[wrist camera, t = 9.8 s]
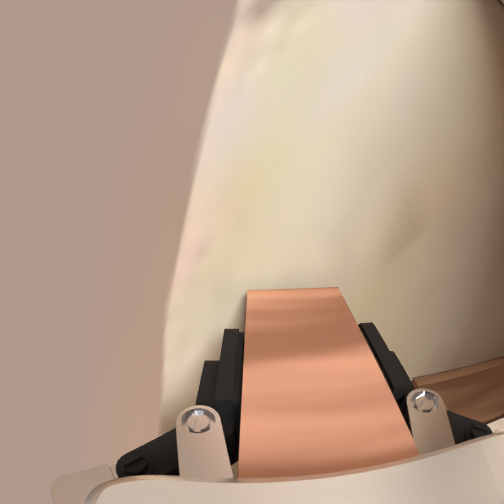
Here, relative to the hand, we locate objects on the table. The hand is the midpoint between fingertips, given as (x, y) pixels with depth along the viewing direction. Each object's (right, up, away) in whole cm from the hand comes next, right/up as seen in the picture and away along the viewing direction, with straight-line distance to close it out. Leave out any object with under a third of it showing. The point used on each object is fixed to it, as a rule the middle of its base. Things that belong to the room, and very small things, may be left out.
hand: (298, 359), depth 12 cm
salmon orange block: (0, +1, +2) cm, 3 cm away
